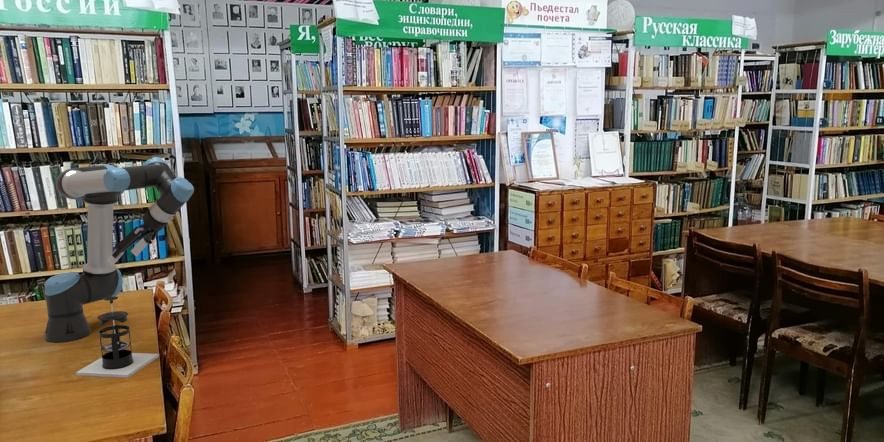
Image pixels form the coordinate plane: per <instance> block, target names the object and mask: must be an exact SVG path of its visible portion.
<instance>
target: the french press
mask: <svg viewBox="0 0 884 442" xmlns="http://www.w3.org/2000/svg"><path fill="white" fill-rule="evenodd" d="M118 299H119V296H117V295H116V296H111V297H107V298H105V299H104V300H103V301H105V302H106V301H107V302H108V301H109V304H110V305H111V307H110V309H111V311H109V312H106V313H103V314H100V315H98V316H97V320H99V325H101V326H104V325H106V324H107V323H108V322H111V321H112V323H113V324H112V325H111V326H107V327H106V326H105V327H103V328H102V329H100V330H99V331H98V334H99V341H100V344H99V345H100V351H101V352H100V353H101V358H102V362H103V364H102V367H103V368H104V369H120V368H124V367H127V366H129V365H131V364H132V363H133V359H132V353H133V349H132V342H131V341H132V339H131V332H130V331H131V330H130V326H129V325H125V324H115V321H117V322H121V323H125V322H127V321H128V317H127V316H128V315H129V312H127V311H121V310H120V311H119V310H118V311H117V310H116V311H114V308H113V307H114V305H113V304H114V301H115V300H118ZM120 330H123V331H120ZM110 331H112V333H106V332H110ZM126 335H128V336H129V337H128V338H129V341H124V340H121V337H123V336H126ZM102 338H103V339H111V340H110V341H111V342H109V343H105V344H104V345H103V343H102ZM128 348H129V349H130V350H129V349H128ZM103 352H106V353H103Z"/></svg>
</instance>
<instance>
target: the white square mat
mask: <svg viewBox="0 0 884 442" xmlns="http://www.w3.org/2000/svg"><path fill="white" fill-rule="evenodd" d="M159 357H160V353H147V352H145V353H144V352H143V353H141V352H132V359H133V363H132V364H131V365H129V366H127V367H124V368H120V369H104V368H103V367H102V364H103V362H102V357H100V358H98V359H97V360H95V361H93V362H92V363H90V364H88V365H86V366H84V367H83V368H81V369H79V370H78V371H76V372H75V376H78V377H79V376H82V377H100V378H122V379H123V378H124V379H128V378H130V377H131V376H133V375H134V374H136V373H137V372H139V371H140V370H142V369H143V368H145V367H146V366H148V365H149V364H150V363H152V362H154V361H155V360H156V359H158V358H159Z"/></svg>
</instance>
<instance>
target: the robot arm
mask: <svg viewBox="0 0 884 442" xmlns="http://www.w3.org/2000/svg"><path fill="white" fill-rule="evenodd" d="M55 187H56V188H55V189H56V190H57V192H58V193H59V194H60V195H61V196H62V197H64V198H66V199H68V200H77V201H79V200H83V202H84V203H85V204H86V205H87V254H86V255H87V256H86V257H87V260H86V261H87V263H85V264H84V265H83V266H82V274H80V273H78V272H77V271H69V272H63V273H59V274H56V275H53V276H50V277H49V278H47V280H45V282H44V295H45V301H46V309H47V317H48V318H47V322H46V327H45V332H44V338H45V341H46V342H51V343H64V342H71V341H75V340H79V339H82V338H85V337H87V336H88V335H90V334H91V333H92V332H91V331H92V330H91V325H90V324H89V322H88V319H87V318H86V316H85V313H84V307H83V305H88V304H92V303H96V302H99V301H105V300H104V299H105V298H107V297H111V296H116V297H117V296H118V295H119V294H120V292H121V291H122V288H123V284H124V281H123V276H122V273H121V271H120V269H119V268H118V267H117V265H116V263H117V262H118V261H119V259H121V257H122V256H123V255H124V253H125V251H126V250H128V249H129V248H130V247H132V246H133V245H134V244H135V243H136V242H137V243H136V244H135V246H134V247H132V249H131V250H130V253H132V255H134V256H135V257H138V256H139V255H140V253H142V251H143V250H145V248H146V247H147V245H152V244H153V241H155V239H156V238H157V236H158V234H159V232H160V231H162V230H163V229H164V228H165V227H166V226H167V225H168V223H169V222H170V221H171V220H174V219H175V218H174V216H175V215H176V214H177V212H179V210H181V208H182V207H183V206H184V205H185V204H186V203H187V202H189V199H190V198H191V197H192V195H193V194H194V191H195V187H194V186H193V184H192V183H191V182H189V180H187V178H185V177H181V176H178V177H177V176H176V174H174V172H173V171H172V169H171V167H170V165H169V164H168V163H167V162H166V161H165V160H164V159H163V158H161V157H159V156H155V157H154V156H153V157H152V158H150V159H147V160H146V161H145V162H144V163H143V165H135V166H123V167H120V166H119V167H116V166H114V165H110V164H108V165H107V164H101V165H100V164H99V165H91V166H83V167H71V168H69V169H65V170H64V171H62V172H61V173H59V174H58V175H57V177H56V181H55ZM148 188H155V190H156V191H157V192H158V193H159V194H160V195H159V196H158V198H157V199H156V200H155V201H154V202H153V204H151V206H150V207H149V209H148V210H146V212H144V214H143V216H142V221H143V224H141V225H139V226H134V228H133V229H132V230H131V231H130V233H128V234H127V235H126V236H125V237H123V238H122V239H121V240H120V241H119V242H118V243H116V244H115V245H114V244H113V241H114V239H113V237H114V234H113V233H114V206H115V205H116V204H117V203H118V201H119V200H118V199H119V196H121V195H123V194H124V192H125V191H131V190H138V189H140V190H141V189H148ZM113 245H114V247H113ZM113 248H114V250H113Z"/></svg>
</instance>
